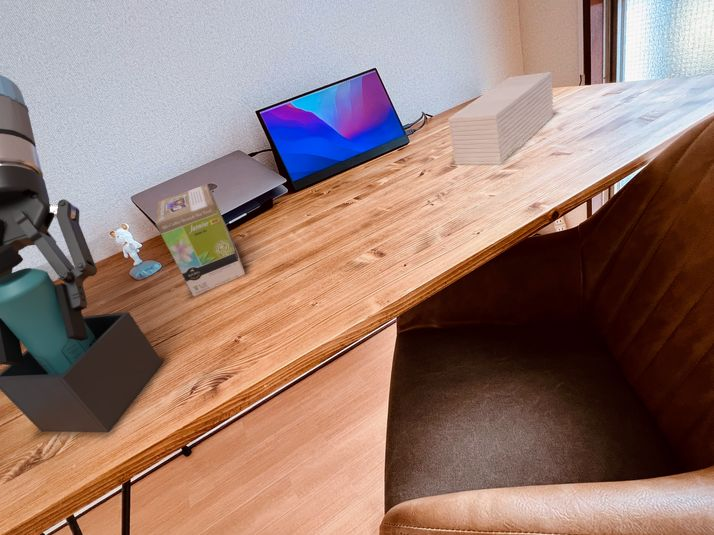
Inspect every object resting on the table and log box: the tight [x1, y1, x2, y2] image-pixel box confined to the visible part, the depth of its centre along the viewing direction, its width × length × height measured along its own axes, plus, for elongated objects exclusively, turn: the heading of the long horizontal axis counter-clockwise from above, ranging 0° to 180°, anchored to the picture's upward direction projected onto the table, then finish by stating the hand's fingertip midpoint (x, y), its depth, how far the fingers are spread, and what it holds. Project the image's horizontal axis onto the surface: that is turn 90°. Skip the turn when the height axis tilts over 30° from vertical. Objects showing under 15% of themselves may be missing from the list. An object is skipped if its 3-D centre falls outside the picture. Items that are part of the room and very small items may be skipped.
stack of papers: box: [447, 71, 554, 165], centre depth 99 cm, size 32×11×11 cm, turn 141°
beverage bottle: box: [0, 245, 98, 374], centre depth 50 cm, size 6×7×20 cm
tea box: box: [155, 184, 246, 297], centre depth 78 cm, size 15×10×15 cm
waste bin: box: [0, 311, 164, 433], centre depth 54 cm, size 11×11×10 cm
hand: (45, 350), depth 48 cm, fingers closed on beverage bottle, 6 cm apart
